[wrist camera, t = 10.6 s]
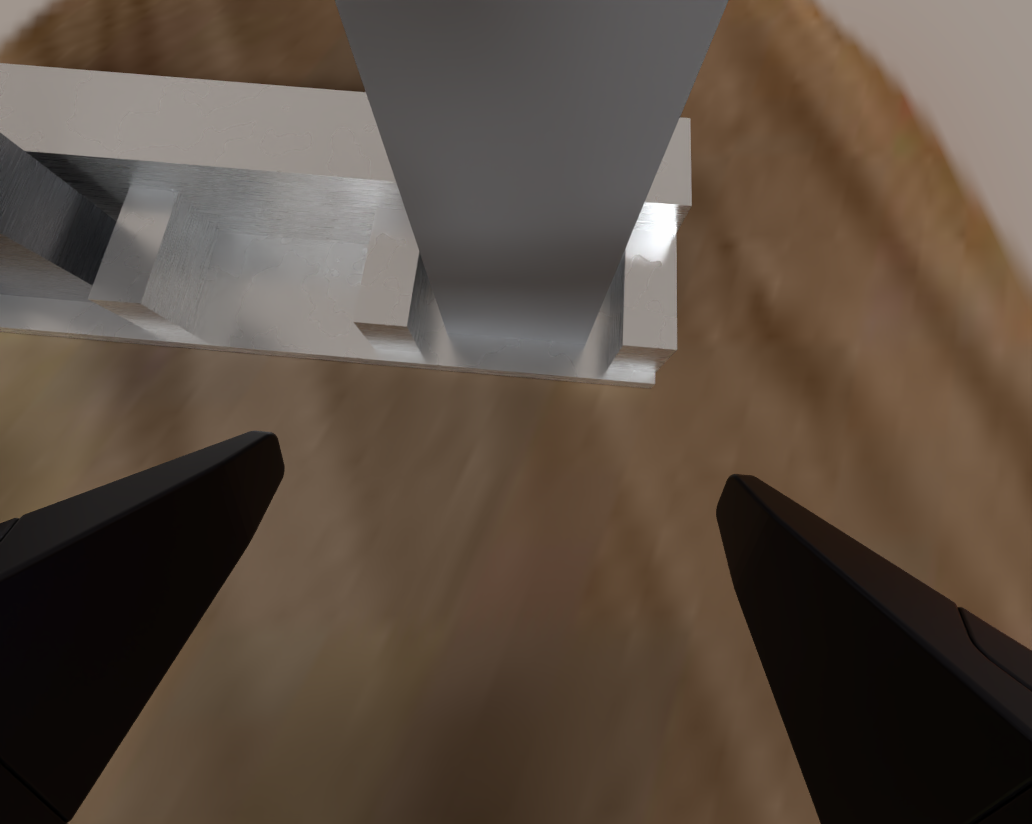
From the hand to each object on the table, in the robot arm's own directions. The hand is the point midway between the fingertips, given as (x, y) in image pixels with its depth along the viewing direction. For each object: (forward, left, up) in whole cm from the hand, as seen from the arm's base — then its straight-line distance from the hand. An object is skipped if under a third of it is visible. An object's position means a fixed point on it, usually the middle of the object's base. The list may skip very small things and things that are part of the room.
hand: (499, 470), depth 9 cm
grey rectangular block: (+4, +7, -9) cm, 12 cm away
